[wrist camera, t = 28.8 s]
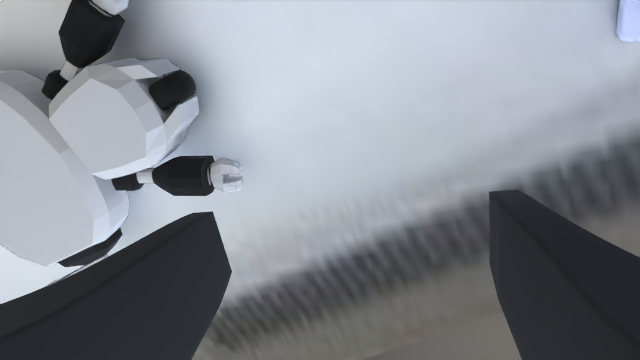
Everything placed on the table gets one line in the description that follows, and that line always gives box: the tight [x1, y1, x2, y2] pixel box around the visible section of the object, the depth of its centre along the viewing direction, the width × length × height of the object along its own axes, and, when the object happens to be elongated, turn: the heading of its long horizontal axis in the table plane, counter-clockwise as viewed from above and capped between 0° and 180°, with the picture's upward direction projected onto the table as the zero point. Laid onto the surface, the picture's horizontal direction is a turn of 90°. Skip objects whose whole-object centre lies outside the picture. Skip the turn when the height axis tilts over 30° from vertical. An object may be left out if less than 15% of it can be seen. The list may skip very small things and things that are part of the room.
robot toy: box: [0, 0, 244, 285], centre depth 21 cm, size 12×4×15 cm
